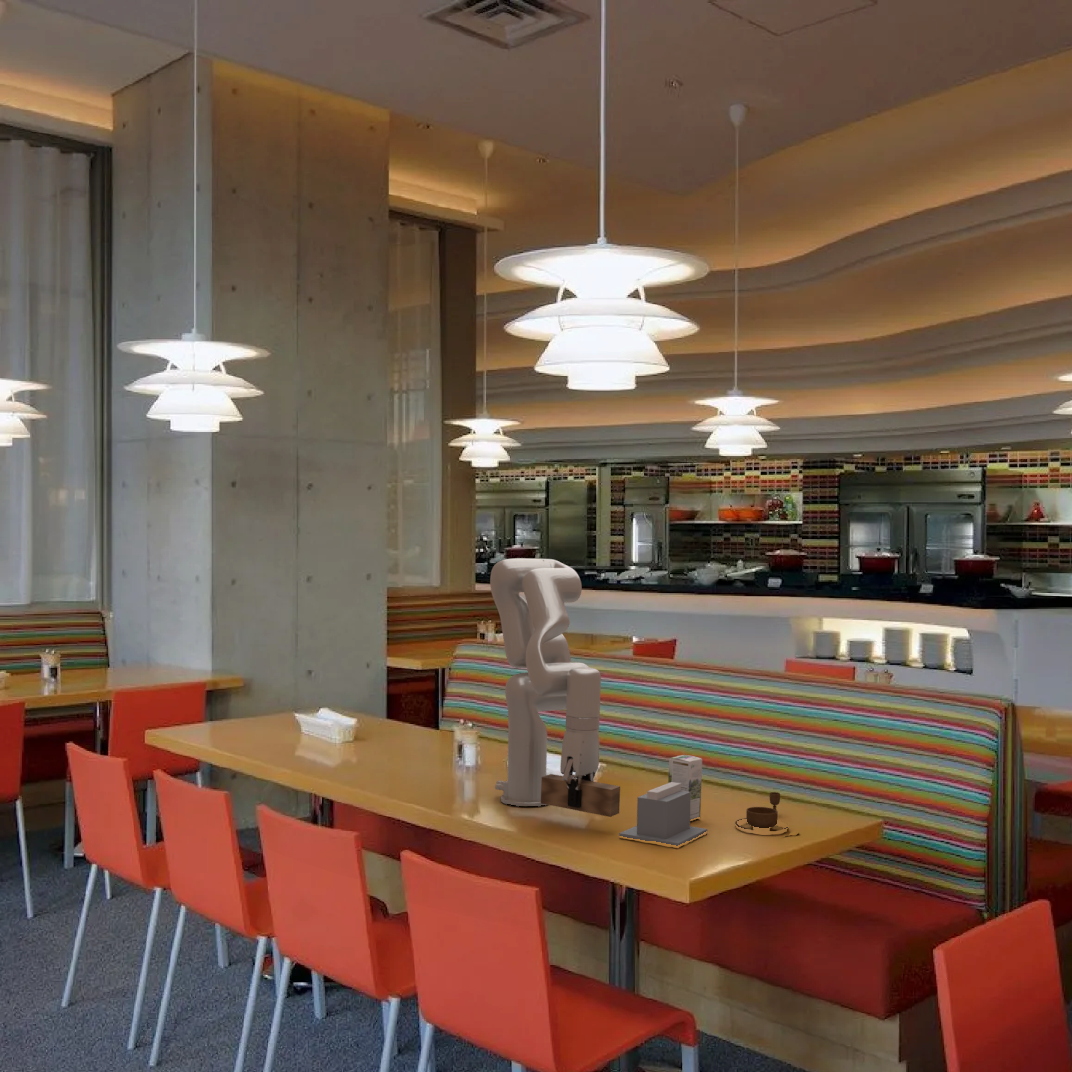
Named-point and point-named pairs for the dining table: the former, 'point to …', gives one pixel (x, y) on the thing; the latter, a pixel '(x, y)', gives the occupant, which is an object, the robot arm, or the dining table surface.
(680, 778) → the syrup box
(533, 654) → the robot arm
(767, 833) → the dining table surface
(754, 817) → the place setting
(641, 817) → the stand
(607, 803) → the walnut bar
